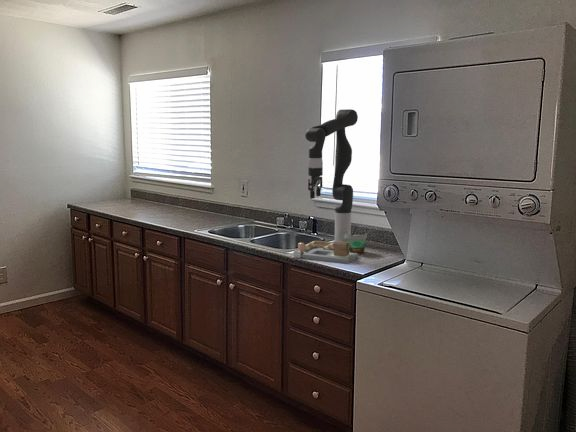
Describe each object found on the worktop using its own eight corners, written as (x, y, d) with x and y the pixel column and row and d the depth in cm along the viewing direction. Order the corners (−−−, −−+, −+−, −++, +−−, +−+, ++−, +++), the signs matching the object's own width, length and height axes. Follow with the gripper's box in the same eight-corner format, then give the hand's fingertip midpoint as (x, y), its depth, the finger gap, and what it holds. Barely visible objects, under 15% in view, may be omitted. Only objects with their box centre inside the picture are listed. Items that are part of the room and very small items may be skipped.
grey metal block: (294, 256, 262) (294, 249, 261) (301, 256, 262) (301, 249, 261) (293, 257, 259) (293, 251, 258) (300, 258, 258) (300, 251, 258)
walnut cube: (337, 252, 260) (338, 241, 259) (349, 254, 257) (349, 242, 256) (333, 255, 254) (333, 243, 253) (345, 256, 252) (345, 244, 251)
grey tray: (314, 252, 270) (314, 248, 270) (357, 257, 260) (357, 252, 260) (302, 258, 257) (302, 254, 257) (347, 263, 247) (347, 259, 246)
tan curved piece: (314, 245, 285) (314, 240, 285) (334, 248, 280) (334, 242, 280) (304, 251, 273) (304, 245, 273) (324, 253, 268) (324, 247, 267)
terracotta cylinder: (299, 253, 267) (299, 242, 266) (304, 254, 266) (305, 242, 265) (297, 254, 264) (297, 243, 263) (302, 255, 263) (302, 244, 262)
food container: (348, 255, 264) (348, 236, 262) (344, 252, 270) (344, 233, 268) (370, 253, 267) (371, 235, 265) (365, 251, 273) (366, 232, 271)
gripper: (313, 165, 277) (313, 195, 280) (303, 167, 264) (303, 198, 267) (326, 165, 274) (326, 195, 277) (317, 167, 261) (317, 199, 264)
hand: (315, 197), depth 272 cm, fingers open, 8 cm apart
